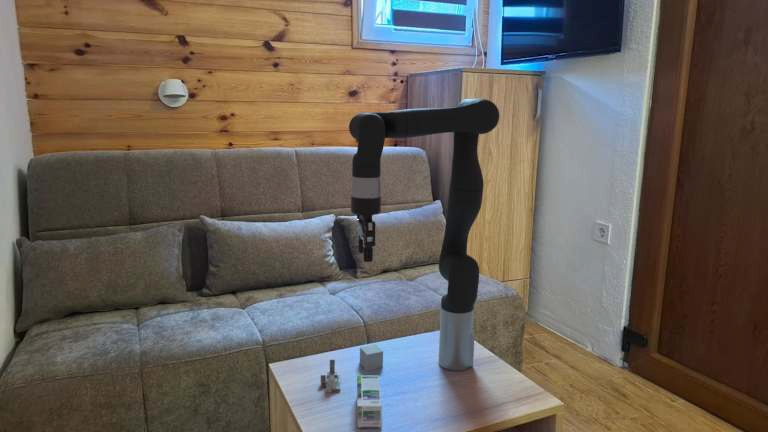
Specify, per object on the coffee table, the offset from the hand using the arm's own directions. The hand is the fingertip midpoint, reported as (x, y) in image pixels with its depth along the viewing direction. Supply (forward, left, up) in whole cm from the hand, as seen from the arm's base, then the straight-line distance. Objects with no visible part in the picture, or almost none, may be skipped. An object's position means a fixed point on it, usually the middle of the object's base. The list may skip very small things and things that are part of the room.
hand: (365, 256), depth 137 cm
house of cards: (+11, -1, -36) cm, 37 cm away
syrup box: (0, +6, -32) cm, 33 cm away
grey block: (-4, -10, -35) cm, 37 cm away
